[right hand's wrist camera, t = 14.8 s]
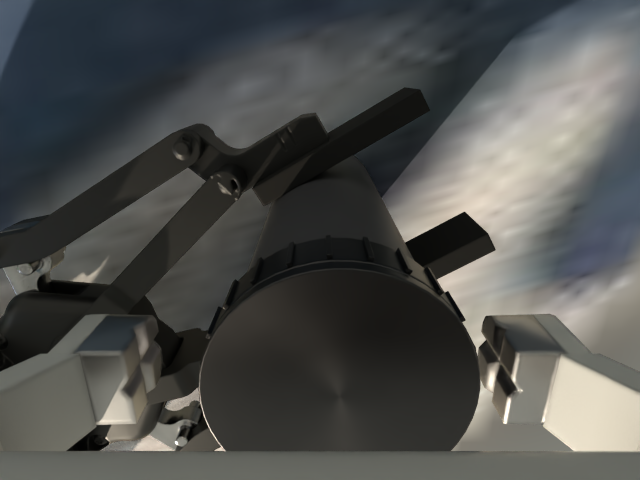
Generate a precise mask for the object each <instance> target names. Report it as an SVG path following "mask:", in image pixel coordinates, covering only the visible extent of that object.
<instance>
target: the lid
mask: <svg viewBox="0 0 640 480" xmlns="http://www.w3.org/2000/svg"><path fill="white" fill-rule="evenodd" d="M463 321H465V318H464V316H463V315H462V313H461V311H460V310H459V308H458V306H457V305H456V303H455V302H454V300H453V298H452V297H451V295H450V293H449V292H448V291H447V292H444V291H443V289H442V288H441V286H440V284H439V283H438V281H437V279H436V278H435V276H434V274H433V273H432V271H431V269H430V268H429V267H428V266H427V267H426V268H423V267H422V266H421V265H419V264H418V263H417V262H415V261H414V260H413V259H411V258H410V257H408V256H406V255H405V254H404V252H403V250H402V249H401V248H398V249H397V250H395V249H392V248H390V247H387V246H385V245H382V244H378V243H375V242H371V241H369V239H368V237H363V239H362V240H361V239H353V238H331V235H326V238H324V239H316V240H310V241H306V242H302V243H298V244H295V243H294V241H293V242H290V243H289V247H287V248H284V249H282V250H279V251H278V252H276V253H274V254H272V255H270V256H268V257H266V258H265V259H262V257H260V258H259V259H257V262H256V265H255V266H254V267H252V268H251V269H250V270H249V271H248V272H247V273H246V274H245V275H244V276H243V277H242V278H241V279H240V280H239V281H237V280H236V279H235V280H234V282H233V283H232V285H231V288H230V290H229V293H228V295H227V298H226V300H225V302H224V305H223V307H218V309H217V311H216V314H215V316H214V318H213V321H212V323H211V325H210V327H209V330H208V332H207V335H206V338H209V341H208V343H207V346H206V349H205V351H204V354H203V356H202V360H201V363H200V370H199V382H198V389H199V398H200V404H201V408H202V411H203V415H204V418H205V420H206V422H207V425H208V427H209V429H210V431H211V433H212V434H213V436H214V437H215V439H216V441H217V442H218V444H219V445H220V446H221V447H222V448H223V449H224V451H451V450H452V449H453V448H454V447H455V446H456V445H457V443H458V442H459V441H460V439H461V438H462V436H463V435H464V433H465V432H466V430H467V428H468V426H469V424H470V422H471V421H472V419H473V416H474V413H475V410H476V407H477V404H478V398H479V393H480V367H479V360H478V356H477V353H476V347H475V345H474V344H473V342H472V340H471V338H470V336H469V334H468V332H467V330H466V328H465V326H464V325H463V323H462V322H463Z"/></svg>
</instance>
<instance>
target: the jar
mask: <svg viewBox="0 0 640 480" xmlns="http://www.w3.org/2000/svg"><path fill="white" fill-rule="evenodd" d="M326 235H331V238H353V239H361V240H362V239H363V237H368V239H369V241H371V242H375V243H378V244H382V245H385V246H387V247H390V248H392V249H395V250H397V249H398V248H401V249H402V250H403V252H404V254H405V255H406V256H408V257H410V258H411V259H413V257H412V255H411V253H410V252H409V250H408V248H407V246H406V244H405V242H404V240H403V238H402V236H401V234H400V233H399V231H398V229H397V227H396V225H395V223H394V221H393V219H392V217H391V215H390V214H389V212H388V210H387V208H386V206H385V204H384V202H383V200H382V198H381V196H380V195H379V193H378V191H377V189H376V187H375V185H374V183H373V181H372V179H371V177H370V175H369V174H368V172H367V170H366V168H365V167H364V166H363V164H362V163H361V162H360V161H359V160H358V159H357V158H356V157H354V156H353V155H352V156H350V157H349V158H347V159H345V160H343V161H342V162H340V163H338V164H336V165H335V166H333V167H331V168H330V169H328V170H326V171H324V172H323V173H321V174H319V175H317V176H316V177H314V178H312V179H310V180H309V181H307V182H305V183H304V184H302V185H300V186H298V187H297V188H295V189H293V190H291V191H290V192H288V193H286V194H285V195H283V196H281V197H279V198H278V199H276V200H274V201H273V202H272V204H271V207H270V210H269V213H268V216H267V218H266V221H265V224H264V227H263V230H262V232H261V235H260V238H259V241H258V243H257V246H256V249H255V252H254V255H253V257H252V260H251V263H250V266H249V269H248V271H249V270H250V269H251V268H252V267H254V266H255V265H256V262H257V259H259V258H260V257H262V259H265V258H266V257H268V256H270V255H272V254H274V253H276V252H278V251H279V250H282V249H284V248H287V247H289V243H290V242H293V241H294V243H295V244H298V243H302V242H306V241H310V240H316V239H324V238H326ZM413 260H414V259H413ZM248 271H247V272H248Z"/></svg>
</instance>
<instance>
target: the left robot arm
mask: <svg viewBox="0 0 640 480" xmlns="http://www.w3.org/2000/svg"><path fill="white" fill-rule="evenodd" d="M428 111H430V109H429V107H428V105H427V103H426V101H425V99H424V97H423V95H422V93H421V90H419V89H412V88H403V89H401V90H400V91H398V92H396V93H395V94H393V95H391V96H389V97H388V98H386V99H384V100H383V101H381V102H379V103H378V104H376V105H374V106H373V107H371V108H369V109H368V110H366V111H364V112H363V113H361V114H359V115H358V116H356V117H354V118H352V119H351V120H349V121H347V122H346V123H344V124H342V125H341V126H339V127H337V128H336V129H334V130H332V131H331V132H329V133H327V132H326V130H325V128H324V126H323V125H322V123H321V121H320V119H319V117H318V116H317V114H316V113H310V114H303V115H300V116H299V117H297V118H296V119H294V120H292V121H291V122H289V123H287V124H286V125H284V126H282V127H281V128H279V129H278V130H276V131H274V132H273V133H271V134H269V135H268V136H266V137H264V138H263V139H261V140H260V141H258V142H256V143H255V144H253V145H251V146H250V147H247V148H244V149H235V148H232V147H230V146H228V145H227V144H225V143H224V142H223V141H222V140H220V139H219V138H218V137H217V136H215V134H214V132H213V130H212V129H211V128H210V127H209V126H207V125H205V124H195V125H192V126H189V127H186V128H184V129H181V130H179V131H177V132H174V133H172V134H170V135H169V136H167V137H166V138H164V139H163V140H161V141H160V142H158V143H157V144H155V145H154V146H152V147H151V148H149V149H148V150H146V151H145V152H143V153H142V154H140V155H139V156H137V157H136V158H134V159H133V160H131V161H130V162H128V163H127V164H125V165H124V166H122V167H121V168H119V169H118V170H116V171H115V172H113V173H112V174H110V175H109V176H107V177H106V178H104V179H103V180H101V181H100V182H98V183H97V184H95V185H94V186H93V187H91V188H90V189H88V190H87V191H85V192H84V193H82V194H81V195H79V196H78V197H76V198H75V199H73V200H72V201H70V202H69V203H67V204H66V205H64V206H63V207H61V208H60V209H58V210H57V211H55V212H54V213H52V214H51V215H46V216H41V217H36V218H31V219H26V220H23V221H20V222H18V223H16V224H14V225H12V226H10V227H7V228H5V229H3V230H1V231H0V268H3V270H4V272H5V274H6V276H7V278H8V280H9V282H10V284H11V286H12V288H13V290H14V292H15V294H16V296H15V297H14V298H13V299H12V300H11V301H10V302H9V304H8V306H7V308H6V311H5V314H4V316H3V317H1V318H0V371H3V370H5V369H7V368H9V367H12V366H14V365H16V364H18V363H21V362H23V361H25V360H27V359H30V358H32V357H34V356H36V355H39V354H48V353H49V352H50V351H51V350H52V349H53V348H54V347H55V346H56V345H57V344H58V343H59V342H60V341H61V340H62V339H63V337H64V336H65V335H66V334H67V333H68V332H69V331H70V330H71V329H72V328H73V327H74V326H75V325H76V324H77V323H78V322H79V321H80V320H81V319H82V318H83V317H84V316H85V315H90V314H110V315H112V314H117V315H153V316H154V317H155V318H156V321H157V326H158V331H159V332H158V333H157V335H156V337H155V338H154V341H155V342H156V343H157V344H158V345H159V346H160V347H161V350H162V371H161V375H160V379H159V381H158V383H157V385H156V387H155V388H154V389H153V390H151V391H150V392H148V393H147V399H148V402H147V404H146V406H145V408H144V410H143V412H142V414H141V416H140V417H139V419H138V421H137V423H136V424H108V425H96V428H94V429H93V430H92V431H91V432H89V433H88V434H87V435H86V436H84V437H83V438H82V439H80V440H79V441H78V442H77V443H75V444H74V445H73V446H72V447H70V448H69V449H68V450H67V451H100V450H101V449H103V448H104V447H106V446H107V445H109V444H111V443H113V442H117V441H133V440H139V439H142V438H144V437H146V436H147V435H149V436H150V437H152V438H154V439H155V440H157V441H159V442H161V443H162V444H164V445H166V446H167V447H169V448H171V449H172V450H174V451H214V450H215V449H217V448H220V447H221V446H220V445H219V444H218V442H217V441H216V439H215V437H214V436H213V434H212V433H211V431H210V429H209V427H208V425H207V422H206V420H205V418H204V415H203V411H202V408H201V404H200V402H199V401H192V402H191V403H190V404H189V406H186V407H184V408H182V409H180V410H177V411H171V410H168V409H165V408H164V407H165V405H166V402H167V401H169V400H173V399H178V398H182V397H185V396H187V395H189V394H191V393H192V392H193V391H194V390H195V389H196V388H198V382H199V370H200V363H201V360H202V356H203V354H204V351H205V349H206V346H207V343H208V341H209V338H206V335H207V332H208V330H207V331H202V330H201V329H200V328H194V329H190V330H186V331H182V332H178V333H175V332H174V331H173V329H171V328H170V327H169V326H167V325H166V324H165V323H163V322H162V321H161V320H159V319H158V317H157V315H156V313H155V311H154V308H153V306H152V304H151V303H150V301H149V300H148V299H147V298H146V297H145V294H146V293H147V292H148V291H149V290H150V289H151V288H152V287H153V286H154V285H155V284H156V283H157V282H158V281H159V280H160V279H161V278H162V277H163V276H164V275H165V274H166V273H167V272H168V270H169V269H170V268H171V267H172V266H173V265H174V264H175V263H176V262H177V261H178V260H179V259H180V258H181V257H182V256H183V255H184V254H185V253H186V252H187V251H188V250H189V249H190V248H191V247H192V246H193V245H194V244H195V243H196V241H197V240H198V239H199V238H200V237H201V236H202V235H203V234H204V233H205V232H206V231H207V230H208V229H209V228H210V227H211V226H212V225H213V224H214V223H215V222H216V221H217V220H218V219H219V218H220V217H221V216H222V215H223V214H224V212H225V211H226V210H227V209H228V208H229V207H230V206H231V205H232V204H233V203H234V202H235V201H236V200H237V201H238V199H239V198H240V196H241V195H242V193H243V192H245V191H246V190H248V189H250V188H252V187H253V186H254V187H253V188H252V189H253V190H254V192H255V194H256V195H257V197H258V198H259V200H260V201H261V203H262V204H263V206H265V205H267V204H269V203H271V202H272V201H274V200H276V199H278V198H279V197H281V196H283V195H285V194H286V193H288V192H290V191H291V190H293V189H295V188H297V187H298V186H300V185H302V184H304V183H305V182H307V181H309V180H310V179H312V178H314V177H316V176H317V175H319V174H321V173H323V172H324V171H326V170H328V169H330V168H331V167H333V166H335V165H336V164H338V163H340V162H342V161H343V160H345V159H347V158H349V157H350V156H352V155H354V154H356V153H357V152H359V151H361V150H362V149H364V148H366V147H368V146H369V145H371V144H373V143H375V142H376V141H378V140H380V139H381V138H383V137H385V136H387V135H388V134H390V133H392V132H394V131H395V130H397V129H399V128H401V127H402V126H404V125H406V124H407V123H409V122H411V121H413V120H414V119H416V118H418V117H420V116H421V115H423V114H425V113H427V112H428ZM186 168H190V169H191V170H192V171H194V172H195V173H196V174H198V175H199V176H200V177H202V178H203V179H204V180H206V182H205V183H204V184H203V185H202V187H201V188H200V189H199V190H198V191H197V192H196V193H195V194H194V195H193V196H192V197H191V198H190V199H189V201H188V202H187V203H186V204H185V205H184V206H183V207H182V208H181V209H180V210H179V211H178V212H177V214H176V215H175V216H174V217H173V218H172V219H171V220H170V221H169V222H168V223H167V224H166V225H165V227H164V228H163V229H162V230H161V231H160V232H159V233H158V234H157V235H156V236H155V237H154V238H153V240H152V241H151V242H150V243H149V244H148V245H147V246H146V247H145V248H144V249H143V250H142V251H141V252H140V254H139V255H138V256H137V257H136V258H135V259H134V260H133V261H132V262H131V263H130V264H129V265H128V267H127V268H126V269H125V270H124V271H123V272H122V273H121V274H120V275H119V276H118V277H117V278H116V280H115V281H114V282H113V283H112V284H111V285H107V284H96V283H84V282H73V281H61V280H51V279H50V271H51V270H52V269H53V268H54V267H56V266H57V265H59V264H60V263H61V262H62V261H63V259H64V251H65V250H66V245H68V244H70V243H71V242H73V241H74V240H76V239H77V238H79V237H80V236H82V235H84V234H85V233H87V232H88V231H90V230H91V229H93V228H94V227H96V226H98V225H99V224H101V223H102V222H104V221H105V220H107V219H108V218H110V217H111V216H113V215H115V214H116V213H118V212H119V211H121V210H122V209H124V208H125V207H127V206H129V205H130V204H132V203H133V202H135V201H136V200H138V199H139V198H141V197H143V196H144V195H146V194H147V193H149V192H150V191H152V190H153V189H155V188H156V187H158V186H160V185H161V184H163V183H164V182H166V181H167V180H169V179H170V178H172V177H174V176H175V175H177V174H178V173H180V172H181V171H183V170H184V169H186ZM405 244H406V246H407V248H408V250H409V252H410V253H411V255H412V257H413V259H414V261H415V262H417V263H418V264H419V265H421V266H422V267H423V268H426V267H427V266H428V267H429V268H430V269H431V271H432V273H433V274H434V276H435V278H436V279H438V278H440V277H443V276H445V275H447V274H449V273H451V272H453V271H455V270H457V269H459V268H461V267H463V266H465V265H467V264H469V263H471V262H473V261H475V260H477V259H479V258H481V257H483V256H485V255H487V254H489V253H491V252H493V251H495V250H496V249H495V247H494V245H493V243H492V241H491V239H490V237H489V235H488V233H487V232H486V231H485V230H484V229H483V228H482V227H480V226H479V225H478V224H477V223H476V222H475V221H474V220H473V219H472V218H471V217H470V216H469V215H468V214H467V213H466V212H463V213H461V214H459V215H457V216H455V217H453V218H452V219H450V220H448V221H446V222H444V223H442V224H440V225H438V226H436V227H434V228H432V229H430V230H429V231H427V232H425V233H423V234H421V235H419V236H417V237H415V238H413V239H411V240H409V241H407V242H406V243H405Z"/></svg>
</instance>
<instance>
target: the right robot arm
mask: <svg viewBox="0 0 640 480" xmlns="http://www.w3.org/2000/svg"><path fill="white" fill-rule="evenodd" d="M158 332H159V331H158V326H157V321H156V318H155V317H154V316H153V315H117V314H112V315H110V314H90V315H85V316H84V317H83V318H82V319H81V320H80V321H79V322H78V323H77V324H76V325H75V326H74V327H73V328H72V329H71V330H70V331H69V332H68V333H67V334H66V335H65V336H64V337H63V339H62V340H61V341H60V342H59V343H58V344H57V345H56V346H55V347H54V348H53V349H52V350H51V351H50V352H49V353H48V354H39V355H36V356H34V357H32V358H30V359H27V360H25V361H23V362H21V363H18V364H16V365H14V366H12V367H9V368H7V369H5V370H3V371H0V480H640V372H639V371H637V370H635V369H633V368H630V367H628V366H626V365H624V364H622V363H619V362H617V361H615V360H613V359H610V358H608V357H606V356H603V355H601V354H592V353H591V352H590V351H589V350H588V349H587V348H586V347H585V346H584V345H583V344H582V342H581V341H580V340H579V339H578V338H577V337H576V336H575V335H574V334H573V333H572V332H571V331H570V330H569V329H568V328H567V327H566V326H565V325H564V324H563V323H562V322H561V321H560V320H559V319H558V318H557V317H556V316H554V315H551V314H535V315H495V316H486V317H485V319H484V321H483V325H482V331H481V332H482V333H483V335H484V337H485V338H486V341H485V342H484V343H483V344H482V345H481V346H480V347H479V350H478V360H479V367H480V379H481V381H482V383H483V385H484V387H485V388H486V389H487V390H489V391H490V392H492V393H493V399H492V402H493V404H494V406H495V408H496V410H497V412H498V414H499V416H500V417H501V419H502V421H503V423H504V424H532V425H544V427H545V428H546V429H547V430H548V431H550V432H551V433H552V434H553V435H555V436H556V437H557V438H558V439H560V440H561V441H562V442H563V443H565V444H566V445H567V446H569V447H570V448H571V449H572V450H574V451H67V450H68V449H69V448H70V447H72V446H73V445H74V444H75V443H77V442H78V441H79V440H80V439H82V438H83V437H84V436H86V435H87V434H88V433H89V432H91V431H92V430H93V429H94V428H96V425H108V424H136V423H137V421H138V419H139V417H140V416H141V414H142V412H143V410H144V408H145V406H146V404H147V402H148V399H147V393H148V392H150V391H151V390H153V389H154V388H155V387H156V385H157V383H158V381H159V379H160V375H161V371H162V350H161V347H160V346H159V345H158V344H157V343H156V342H155V341H154V338H155V337H156V335H157V333H158Z"/></svg>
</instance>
